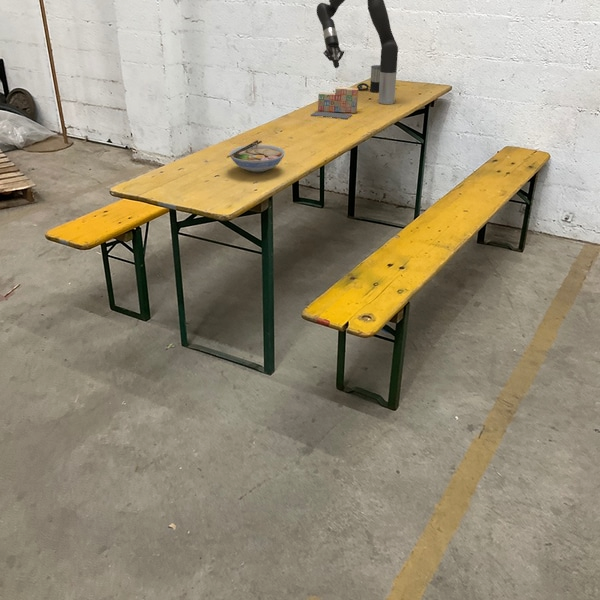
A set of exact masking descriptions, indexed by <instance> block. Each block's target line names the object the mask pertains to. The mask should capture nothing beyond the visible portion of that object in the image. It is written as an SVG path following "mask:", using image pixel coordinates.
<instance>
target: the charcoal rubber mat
mask: <svg viewBox="0 0 600 600" xmlns="http://www.w3.org/2000/svg"><path fill="white" fill-rule="evenodd" d="M353 114H354V113H343V112H325V111H318V110H316V111H315V112H313V113H311V114H310V115H311V116H310V117H316V116H323V117H322V118H326V117H332V118H331V119H337V118H341V119H340V120H349V119H350V118H351V116H352V115H353ZM349 117H350V118H349ZM352 117H353V116H352ZM348 118H349V119H348Z"/></svg>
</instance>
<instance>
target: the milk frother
mask: <svg viewBox="0 0 600 600" xmlns="http://www.w3.org/2000/svg"><path fill="white" fill-rule="evenodd" d="M370 70H371V71H370V83H369V84H367V83H364V82H362V83H359V84H357V85H356V86H357V87H356V88H358V91H362V92H363V91H367V90H369V92H371V93H378V94H379V84H380V64H379V65H378V64H376V65H375V64H374V65H371V66H370ZM363 86H365V88H363Z"/></svg>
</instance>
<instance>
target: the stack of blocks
mask: <svg viewBox="0 0 600 600" xmlns="http://www.w3.org/2000/svg"><path fill="white" fill-rule="evenodd" d="M358 93H359V89H358V88H357V87H348V86H347V87H343V86H340V87H338V86H335V91H334V92H320V91H319V92H318V102H317V104H318V105H317V106H318V107H317V111H321V112H332V113H346V114H356V113H357V112H358V111H357V110H358V99H359V97H358V96H359V94H358Z"/></svg>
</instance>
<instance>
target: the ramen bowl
mask: <svg viewBox="0 0 600 600" xmlns="http://www.w3.org/2000/svg"><path fill="white" fill-rule="evenodd" d="M262 142H263V141H262V140H259V139H257V140H255V141H253V142H251V143H250V144H248V145H241V146H238V147H234V148H233V149H231V150H230V151H229V155H228V156H226V158H227V159H229V158H231V160H232V161H233V162H234V164H236V165H237V166H238V167H239V168H241V169H243V170H246V171H249V172H251V173H257V174H258V173H264V172H266V171H268V170H271V169H273V168H275V167H276V166H277V165H279V164H280V162H281V161H282V159H284V156H285V154H286V152H285V149H283V148H281V147H279V146H276V145H271V144H261V143H262Z"/></svg>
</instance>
